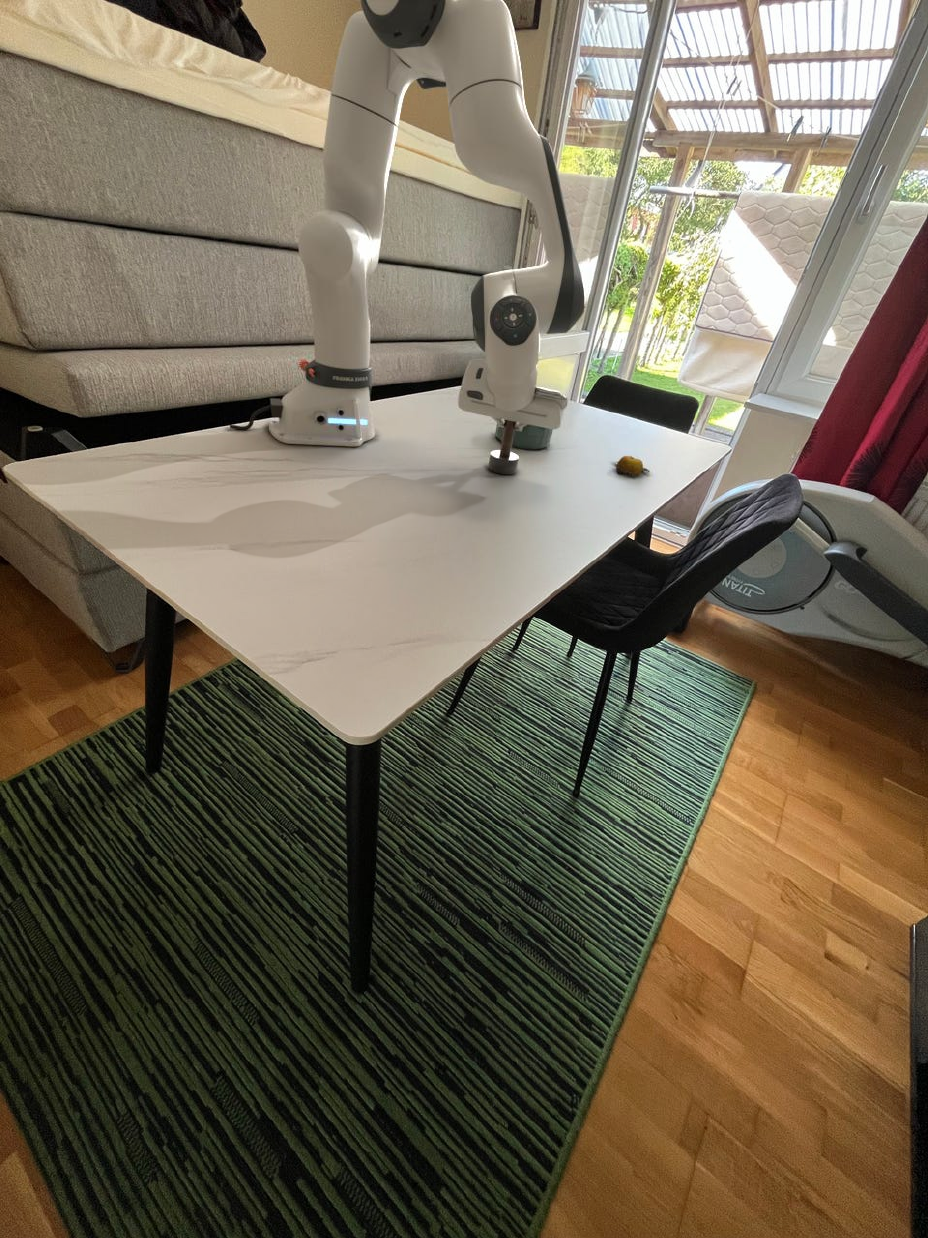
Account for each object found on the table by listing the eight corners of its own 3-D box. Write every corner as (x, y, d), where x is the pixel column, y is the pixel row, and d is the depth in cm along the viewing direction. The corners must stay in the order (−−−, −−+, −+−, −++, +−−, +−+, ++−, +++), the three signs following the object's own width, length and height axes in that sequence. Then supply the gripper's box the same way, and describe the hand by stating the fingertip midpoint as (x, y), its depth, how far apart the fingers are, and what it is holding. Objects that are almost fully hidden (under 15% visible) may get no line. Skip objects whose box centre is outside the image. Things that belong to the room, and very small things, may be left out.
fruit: (649, 472, 122) (655, 457, 120) (642, 481, 116) (647, 465, 114) (616, 462, 125) (621, 447, 123) (607, 471, 119) (611, 455, 117)
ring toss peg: (497, 475, 106) (511, 393, 97) (483, 464, 111) (495, 384, 101) (521, 473, 109) (537, 393, 100) (506, 463, 113) (521, 385, 104)
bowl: (512, 451, 121) (518, 425, 117) (485, 432, 130) (489, 407, 127) (559, 449, 127) (565, 424, 123) (529, 431, 136) (534, 407, 133)
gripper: (573, 379, 91) (564, 422, 104) (461, 357, 93) (466, 402, 107) (564, 411, 90) (556, 450, 103) (452, 388, 92) (458, 429, 106)
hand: (510, 425), depth 105 cm, fingers closed on ring toss peg, 2 cm apart
